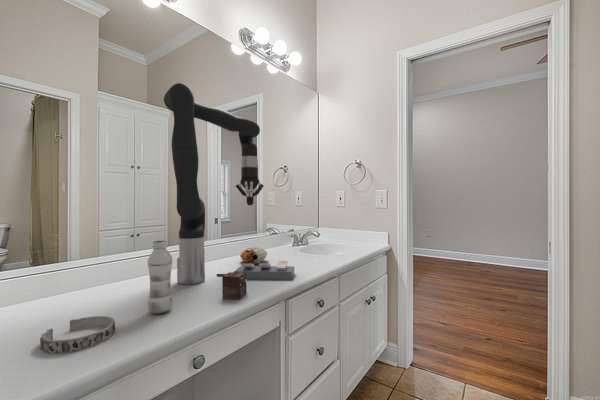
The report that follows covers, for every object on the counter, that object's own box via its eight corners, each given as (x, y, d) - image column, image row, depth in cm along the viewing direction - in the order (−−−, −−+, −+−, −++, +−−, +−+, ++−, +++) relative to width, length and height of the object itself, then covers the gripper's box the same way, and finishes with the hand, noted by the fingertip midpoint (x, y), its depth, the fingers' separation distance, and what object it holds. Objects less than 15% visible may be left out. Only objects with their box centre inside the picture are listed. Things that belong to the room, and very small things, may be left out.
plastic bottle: (166, 306, 86) (165, 239, 86) (177, 311, 82) (176, 241, 82) (143, 312, 81) (142, 241, 81) (154, 318, 77) (153, 243, 77)
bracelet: (35, 363, 57) (35, 348, 57) (44, 337, 68) (44, 324, 68) (117, 342, 65) (117, 328, 65) (113, 322, 76) (113, 310, 76)
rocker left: (241, 267, 115) (241, 263, 116) (245, 268, 121) (246, 263, 121) (250, 267, 115) (250, 263, 115) (254, 268, 121) (254, 263, 121)
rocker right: (276, 271, 114) (276, 267, 114) (278, 264, 120) (278, 260, 120) (285, 271, 114) (285, 267, 114) (287, 264, 120) (287, 260, 119)
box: (239, 300, 90) (239, 276, 90) (222, 299, 92) (221, 276, 92) (247, 294, 96) (246, 272, 96) (230, 293, 98) (229, 271, 98)
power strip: (212, 279, 115) (212, 271, 115) (220, 273, 124) (220, 265, 124) (291, 280, 112) (291, 271, 112) (294, 274, 121) (294, 266, 121)
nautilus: (252, 271, 129) (224, 270, 135) (274, 258, 149) (249, 258, 155) (251, 253, 129) (223, 253, 134) (272, 243, 149) (247, 244, 154)
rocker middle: (258, 267, 114) (259, 262, 115) (262, 268, 120) (262, 264, 121) (267, 267, 114) (268, 262, 115) (270, 268, 120) (270, 264, 120)
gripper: (232, 166, 127) (233, 205, 127) (262, 165, 126) (262, 205, 126) (237, 168, 134) (238, 205, 135) (265, 167, 133) (266, 205, 133)
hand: (250, 205), depth 130 cm, fingers closed
